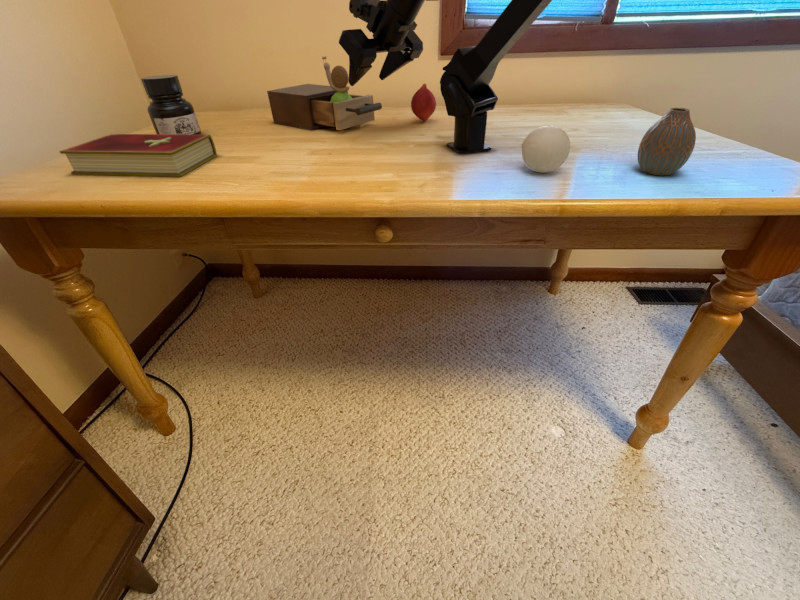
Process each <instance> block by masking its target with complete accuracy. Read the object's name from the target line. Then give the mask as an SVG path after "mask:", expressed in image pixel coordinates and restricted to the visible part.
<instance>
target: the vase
mask: <svg viewBox="0 0 800 600" xmlns="http://www.w3.org/2000/svg"><path fill="white" fill-rule="evenodd" d="M696 139H697V134H696V129H695V126H694V124H693V122H692V119H691V111H690V109H688V108H684V107H671V108H669V109H668V111H667V112H666V113H665V114H664V115H663V116H662V117H661V118H660V119H659V120H657V121H655V123H653V124H652V125H651V126H650V127H649V128H648V129H647V131H646V132H645V133H644V135H643V136H642V138H641V140H640V143H639V146H638V149H637V164H638V166H639V168H640V169H641V171H642V172H644V173H646V174H649V175H653V176H670V175H672V174H674V173H676V172H677V171H679V170H680V169H681V168H682V167H684V165H685V164H687V162H688V161H689V159H690V158H691V156H692V154H693V152H694V149H695V146H696Z"/></svg>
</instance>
